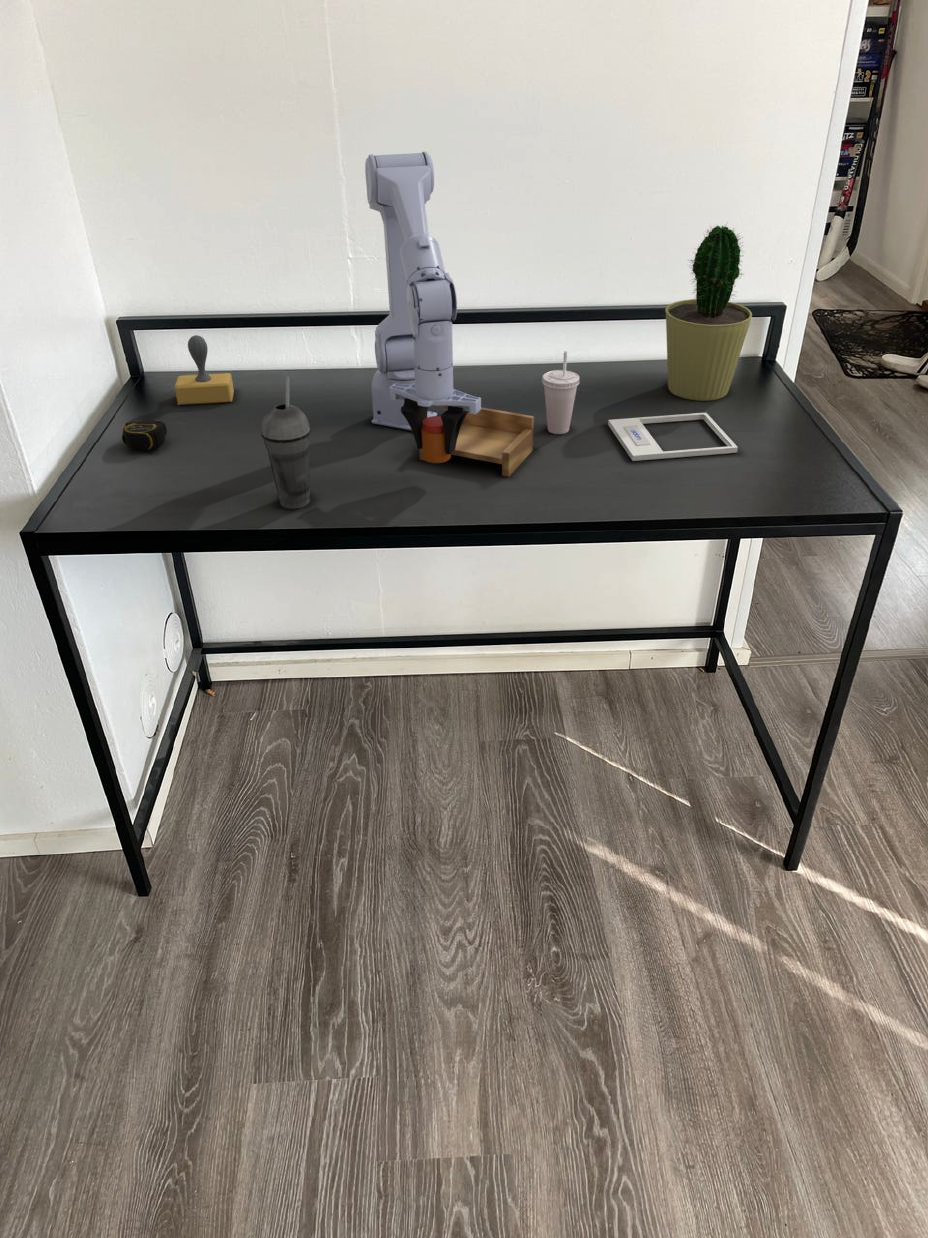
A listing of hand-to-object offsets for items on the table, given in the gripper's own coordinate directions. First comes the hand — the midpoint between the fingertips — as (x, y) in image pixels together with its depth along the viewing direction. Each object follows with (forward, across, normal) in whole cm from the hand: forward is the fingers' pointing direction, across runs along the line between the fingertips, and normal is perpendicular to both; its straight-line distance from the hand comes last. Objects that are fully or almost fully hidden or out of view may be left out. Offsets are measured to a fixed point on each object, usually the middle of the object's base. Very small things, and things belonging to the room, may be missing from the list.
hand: (436, 448), depth 147 cm
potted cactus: (+6, +29, +54) cm, 62 cm away
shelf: (+6, +2, +11) cm, 12 cm away
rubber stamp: (+6, -55, +13) cm, 57 cm away
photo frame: (+6, +30, +30) cm, 43 cm away
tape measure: (+6, -52, -8) cm, 53 cm away
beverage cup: (+6, -17, -15) cm, 23 cm away
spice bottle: (+1, 0, 0) cm, 1 cm away
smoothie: (+6, +11, +26) cm, 29 cm away
